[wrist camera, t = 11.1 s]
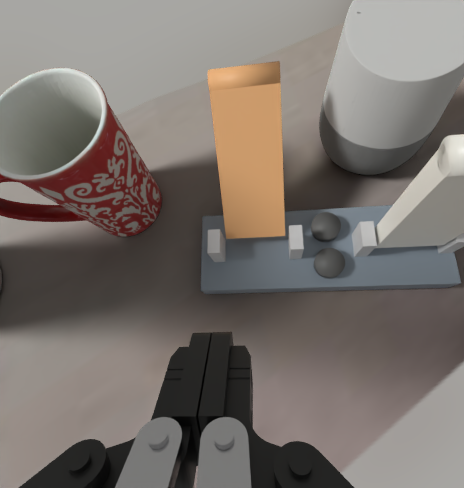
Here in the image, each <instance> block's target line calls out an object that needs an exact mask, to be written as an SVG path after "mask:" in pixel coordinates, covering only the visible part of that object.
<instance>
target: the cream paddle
mask: <svg viewBox="0 0 464 488" xmlns="http://www.w3.org/2000/svg"><path fill="white" fill-rule="evenodd" d="M374 229H375V236H376V243H377V246H376V247H375V248H392V247H415V246H439V245H444V244H446V243H447V242H449V241H451V240H452V239H454V238H456V237H457V236H459V235H460V234H462V233H464V134H461V135H449V136H447V137H445V138H444V139H443V141H442V142H441V144H440V147H439V149H438V150H437V151H436V153H435V154H434V155H433V156H432V158H431V159H430V160H429V161H428V163H427V164H426V165H425V166H424V168H423V169H422V170H421V171H420V172H419V174H418V175H417V176H416V177H415V179H414V180H413V181H412V182H411V184H410V185H409V186H408V187H407V189H406V190H405V191H404V192H403V193H402V195H401V196H400V197H399V198H398V200H397V201H396V202H395V203H394V205H393V206H392V207H391V208H390V210H389V211H388V212H387V213H386V214H385V216H384V217H383V218H382V219H381V221H380V222H379V223H378V224H377V226H376V227H375V228H374Z"/></svg>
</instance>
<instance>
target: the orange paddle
mask: <svg viewBox="0 0 464 488" xmlns="http://www.w3.org/2000/svg"><path fill="white" fill-rule="evenodd" d="M208 85H209V91H210V100H211V108H212V117H213V126H214V135H215V144H216V153H217V162H218V171H219V179H220V188H221V197H222V206H223V215H224V224H225V233H226V239H234V238H255V237H275V236H285V213H284V182H283V151H282V120H281V89H280V63H279V61H277V62H269V63H260V64H252V65H244V66H236V67H228V68H219V69H211V70H208Z"/></svg>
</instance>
